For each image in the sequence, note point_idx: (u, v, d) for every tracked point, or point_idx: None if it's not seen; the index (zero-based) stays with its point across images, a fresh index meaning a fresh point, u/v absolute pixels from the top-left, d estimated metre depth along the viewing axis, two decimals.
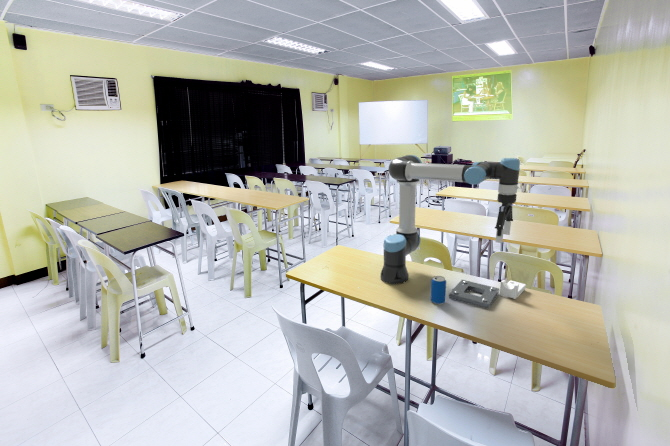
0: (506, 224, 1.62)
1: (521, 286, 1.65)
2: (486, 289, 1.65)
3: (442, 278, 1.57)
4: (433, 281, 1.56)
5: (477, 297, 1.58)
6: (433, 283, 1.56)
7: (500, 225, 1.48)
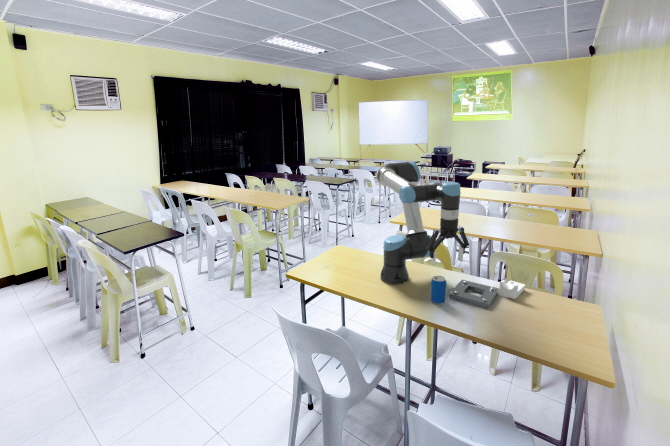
0: (459, 250, 1.56)
1: (520, 286, 1.65)
2: (486, 289, 1.65)
3: (442, 278, 1.57)
4: (433, 281, 1.56)
5: (477, 297, 1.58)
6: (433, 283, 1.56)
7: (428, 247, 1.51)
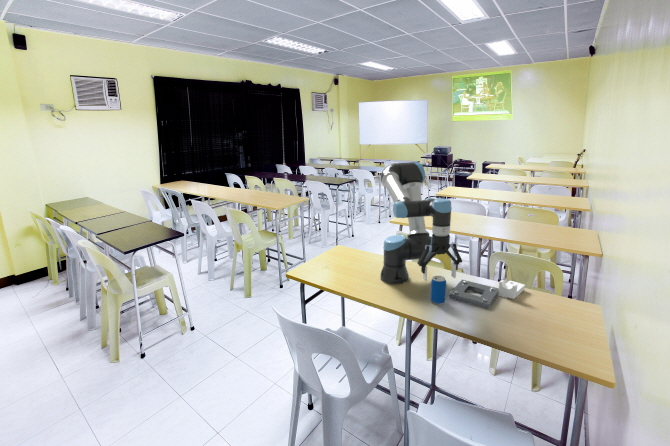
0: (452, 266, 1.56)
1: (520, 286, 1.65)
2: (486, 289, 1.65)
3: (442, 278, 1.57)
4: (433, 281, 1.56)
5: (477, 297, 1.58)
6: (433, 283, 1.56)
7: (419, 262, 1.53)
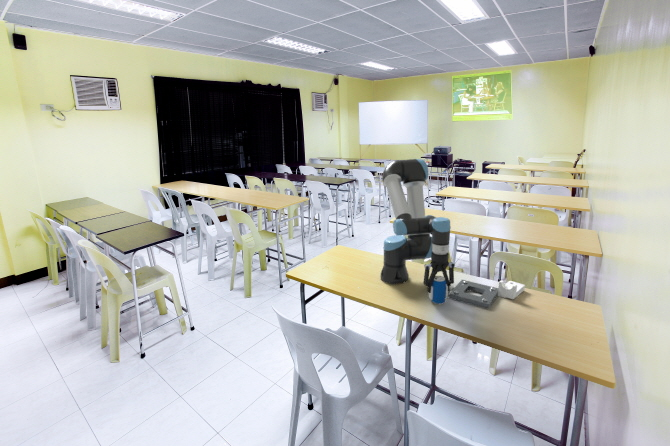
0: None
1: (520, 286, 1.64)
2: (486, 289, 1.65)
3: (442, 278, 1.57)
4: (433, 281, 1.56)
5: (477, 297, 1.58)
6: (433, 283, 1.56)
7: (425, 282, 1.56)
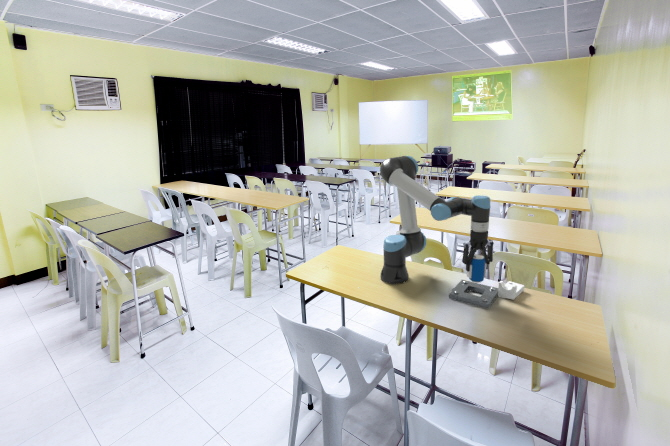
0: None
1: (519, 287, 1.64)
2: (486, 289, 1.65)
3: (481, 256, 1.59)
4: None
5: (477, 297, 1.58)
6: (472, 261, 1.57)
7: (464, 261, 1.58)
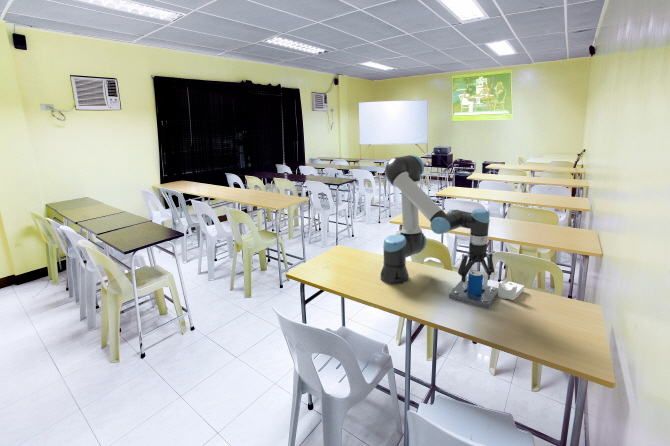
0: (484, 276, 1.62)
1: (519, 287, 1.64)
2: (486, 289, 1.65)
3: (479, 273, 1.61)
4: (470, 275, 1.60)
5: (477, 297, 1.58)
6: (470, 277, 1.60)
7: (460, 272, 1.59)
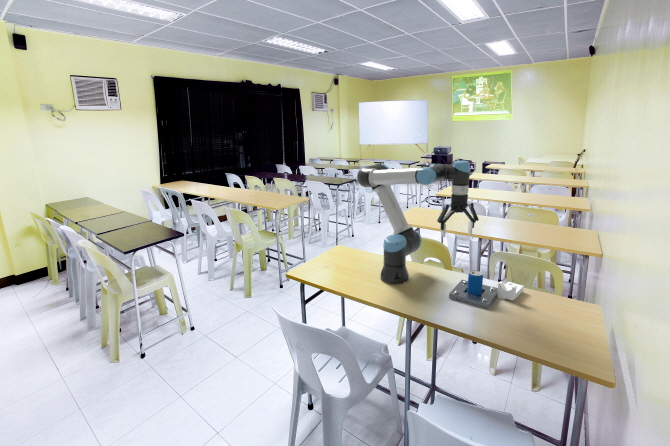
0: (469, 224, 1.70)
1: (519, 287, 1.63)
2: (486, 289, 1.65)
3: (479, 273, 1.61)
4: (470, 275, 1.60)
5: (477, 297, 1.58)
6: (470, 277, 1.60)
7: (439, 219, 1.66)
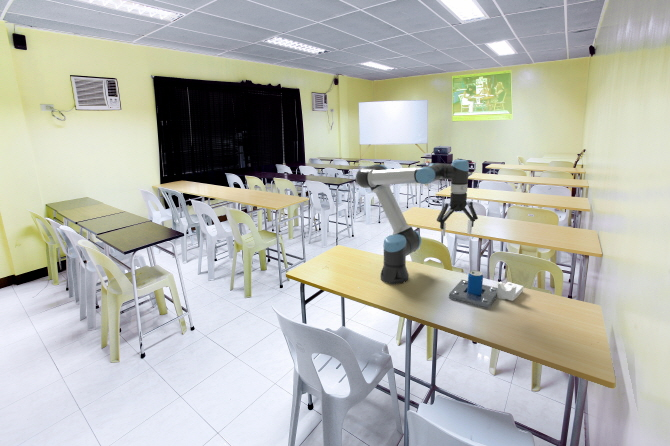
0: (468, 223, 1.70)
1: (518, 287, 1.63)
2: (486, 289, 1.65)
3: (479, 273, 1.61)
4: (470, 275, 1.60)
5: (477, 297, 1.58)
6: (470, 277, 1.60)
7: (438, 218, 1.67)
